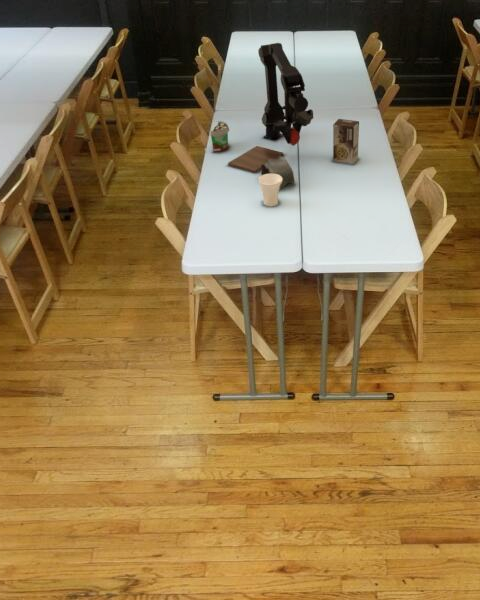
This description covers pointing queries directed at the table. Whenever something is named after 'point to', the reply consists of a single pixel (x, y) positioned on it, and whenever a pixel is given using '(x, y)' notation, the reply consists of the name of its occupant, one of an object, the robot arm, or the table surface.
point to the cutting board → (254, 159)
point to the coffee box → (345, 141)
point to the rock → (278, 169)
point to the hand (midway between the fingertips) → (292, 140)
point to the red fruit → (294, 137)
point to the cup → (270, 188)
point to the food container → (220, 137)
